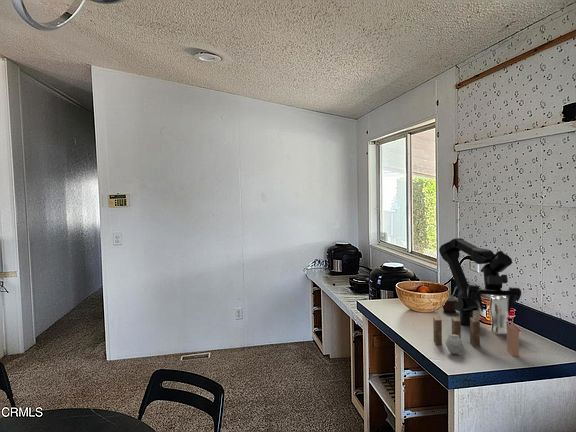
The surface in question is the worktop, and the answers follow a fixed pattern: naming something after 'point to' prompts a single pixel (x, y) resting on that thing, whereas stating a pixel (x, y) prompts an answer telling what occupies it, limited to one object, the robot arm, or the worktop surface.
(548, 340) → the worktop surface
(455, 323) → the domino
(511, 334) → the loose domino
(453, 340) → the grey faceted rock
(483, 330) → the worktop surface
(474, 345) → the domino
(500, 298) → the beer glass
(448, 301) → the mate gourd
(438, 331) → the domino
